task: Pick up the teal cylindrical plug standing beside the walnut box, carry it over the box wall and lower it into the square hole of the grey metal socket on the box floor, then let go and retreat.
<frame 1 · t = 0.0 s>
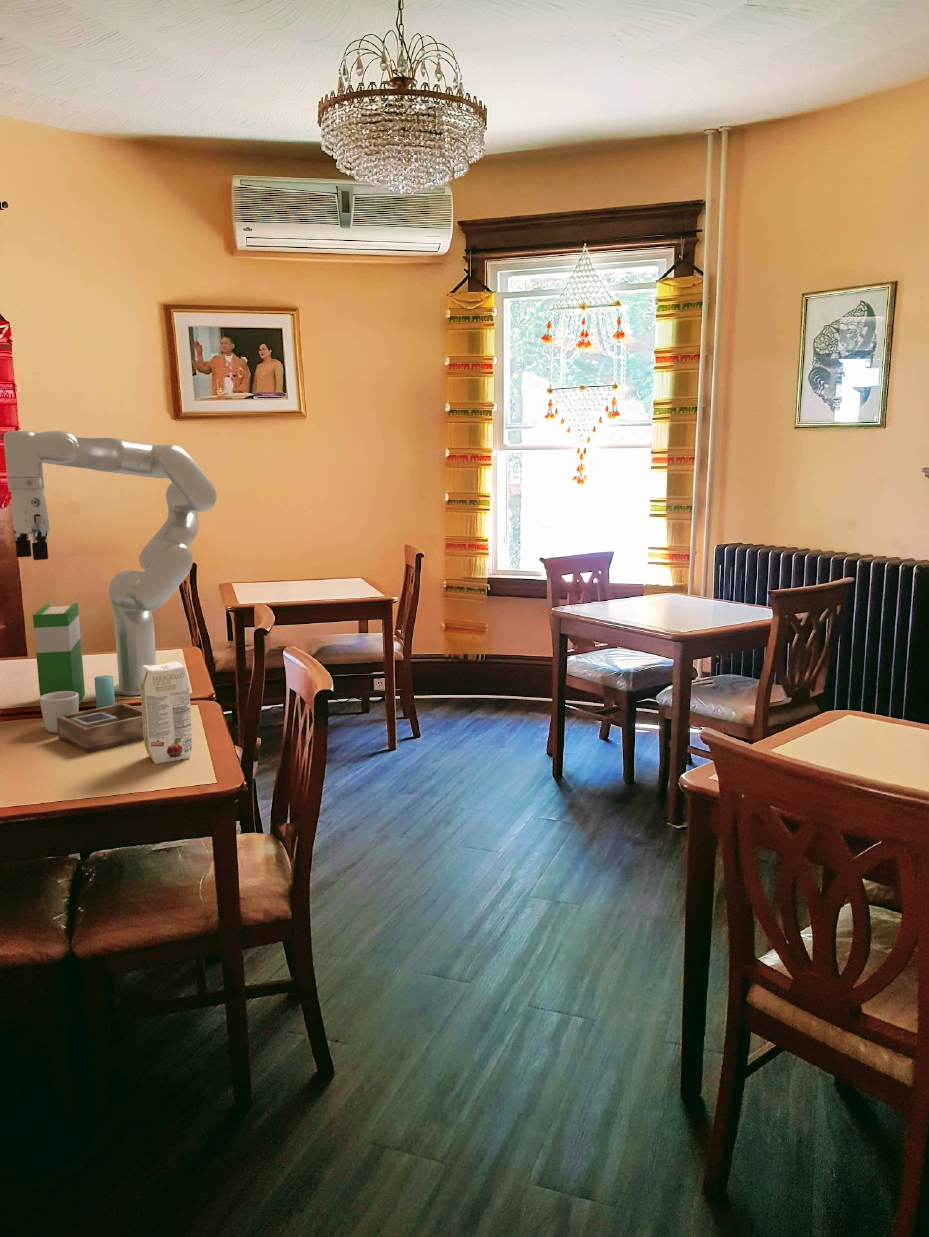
hand: (32, 558, 205), 37 cm above the table, tool pointing down, fingers open, 9 cm apart
cup: (59, 729, 195), on the table
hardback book: (64, 704, 216), on the table
juice carton: (169, 758, 175), on the table
box: (107, 737, 188), on the table
plug: (106, 719, 202), on the table
socket: (95, 740, 186), resting on box
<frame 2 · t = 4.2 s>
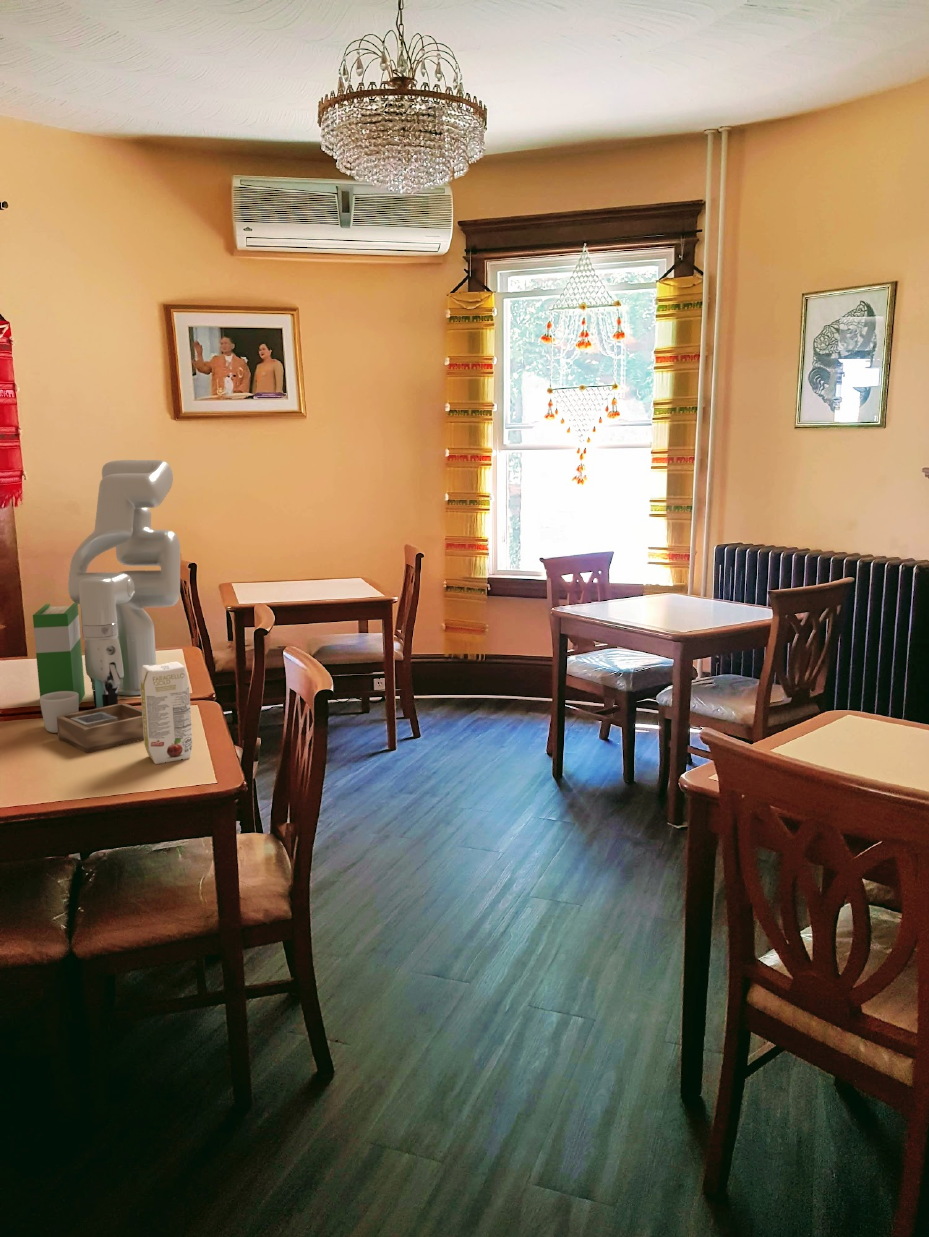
hand: (105, 707, 202), 3 cm above the table, tool pointing down, fingers closed on plug, 4 cm apart
plug: (106, 719, 202), on the table, touching gripper
everything else where it was.
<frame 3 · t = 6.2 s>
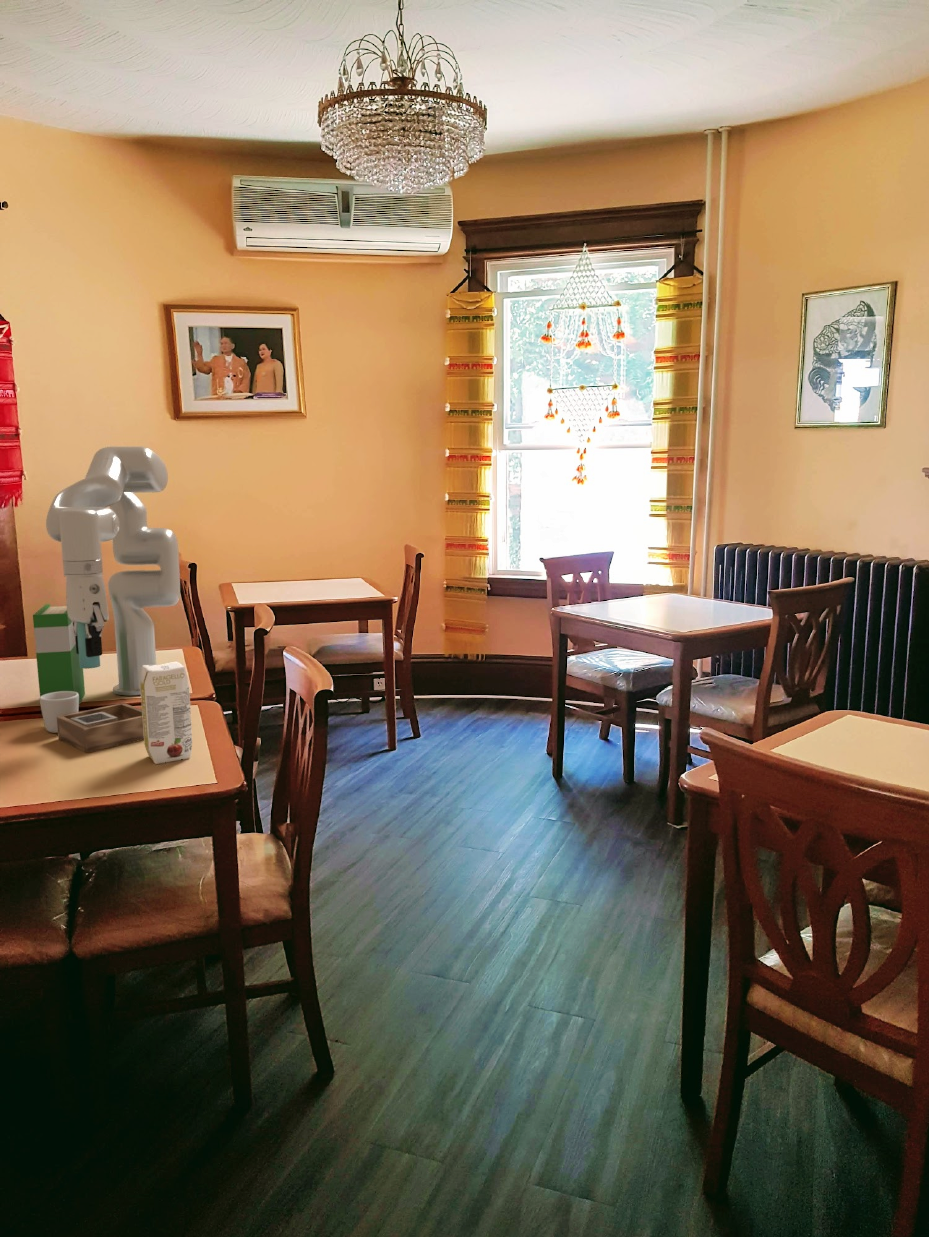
hand: (89, 653, 184), 19 cm above the table, tool pointing down, fingers closed on plug, 4 cm apart
plug: (90, 666, 184), point 16 cm above the table, touching gripper
everything else where it was.
when the fingers open (6 cm above the table, at t = 8.7 s): plug drops 2 cm, resting on box.
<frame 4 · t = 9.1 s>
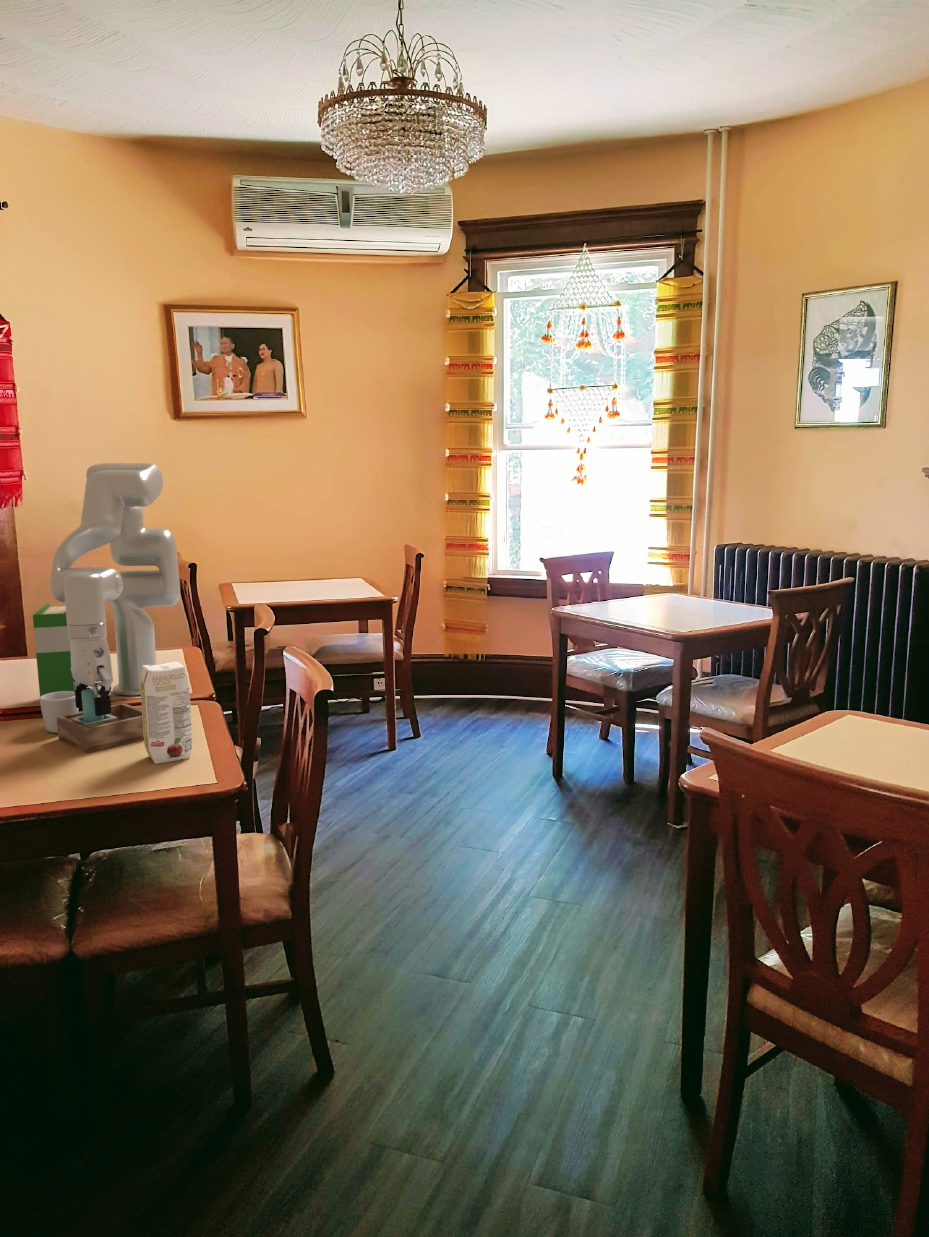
hand: (93, 710, 185), 7 cm above the table, tool pointing down, fingers open, 8 cm apart
plug: (95, 735, 186), point 1 cm above the table, touching box
everything else where it was.
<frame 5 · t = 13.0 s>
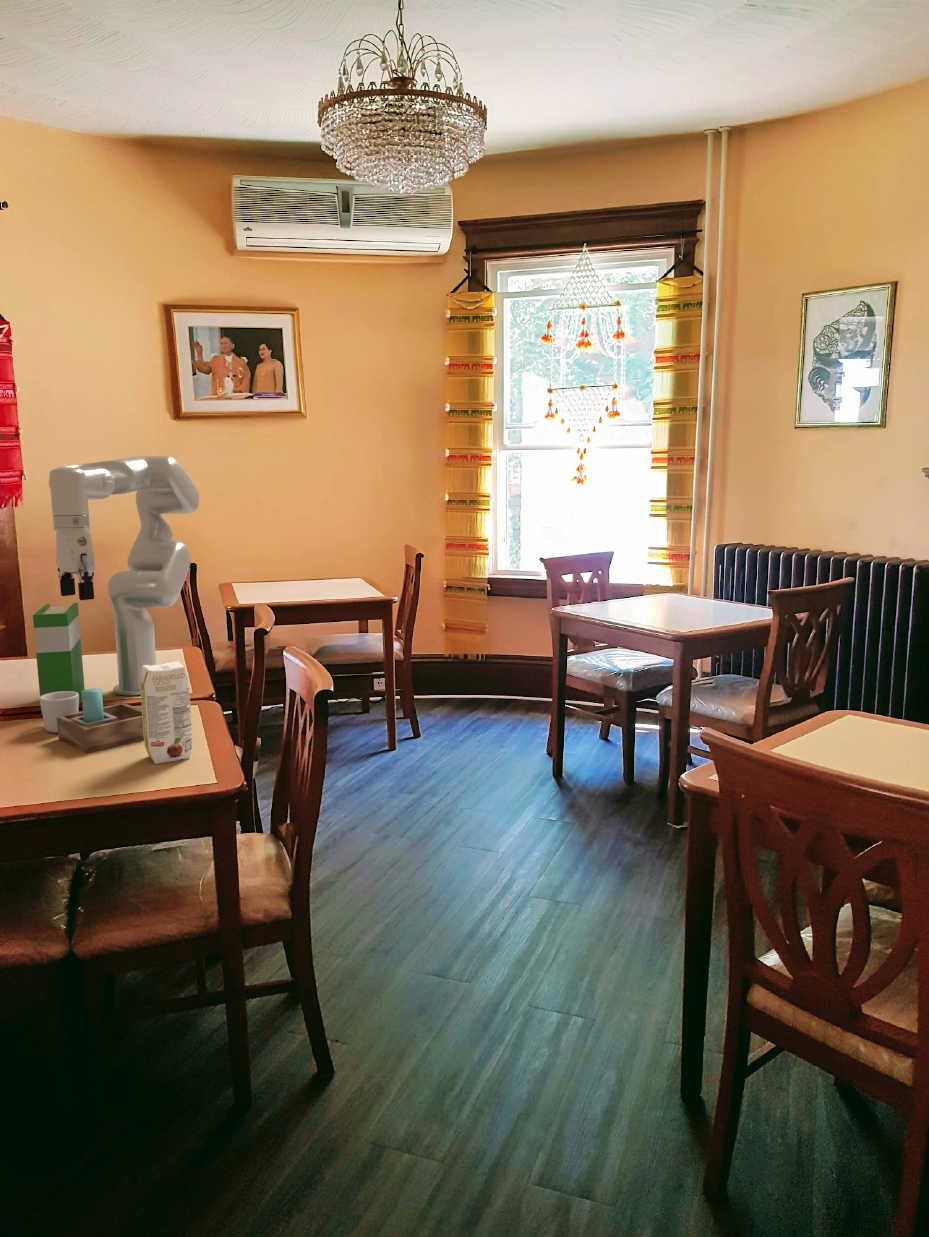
hand: (77, 597, 200), 28 cm above the table, tool pointing down, fingers open, 9 cm apart
nothing on the table moved.
at the end: plug 0.2 cm off-centre on the socket, point 1.0 cm above the socket's base; plug tilted 0°; the gripper is holding nothing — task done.
